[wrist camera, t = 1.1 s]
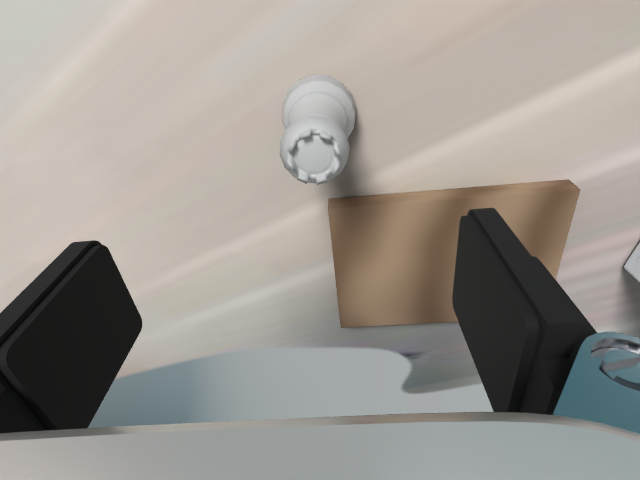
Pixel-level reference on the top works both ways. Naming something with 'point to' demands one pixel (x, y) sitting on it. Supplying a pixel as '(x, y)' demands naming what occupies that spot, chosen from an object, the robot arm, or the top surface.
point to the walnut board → (431, 245)
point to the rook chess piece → (317, 128)
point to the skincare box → (634, 263)
